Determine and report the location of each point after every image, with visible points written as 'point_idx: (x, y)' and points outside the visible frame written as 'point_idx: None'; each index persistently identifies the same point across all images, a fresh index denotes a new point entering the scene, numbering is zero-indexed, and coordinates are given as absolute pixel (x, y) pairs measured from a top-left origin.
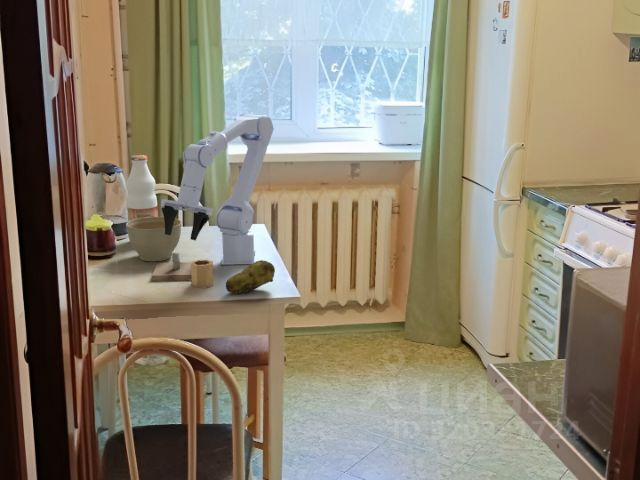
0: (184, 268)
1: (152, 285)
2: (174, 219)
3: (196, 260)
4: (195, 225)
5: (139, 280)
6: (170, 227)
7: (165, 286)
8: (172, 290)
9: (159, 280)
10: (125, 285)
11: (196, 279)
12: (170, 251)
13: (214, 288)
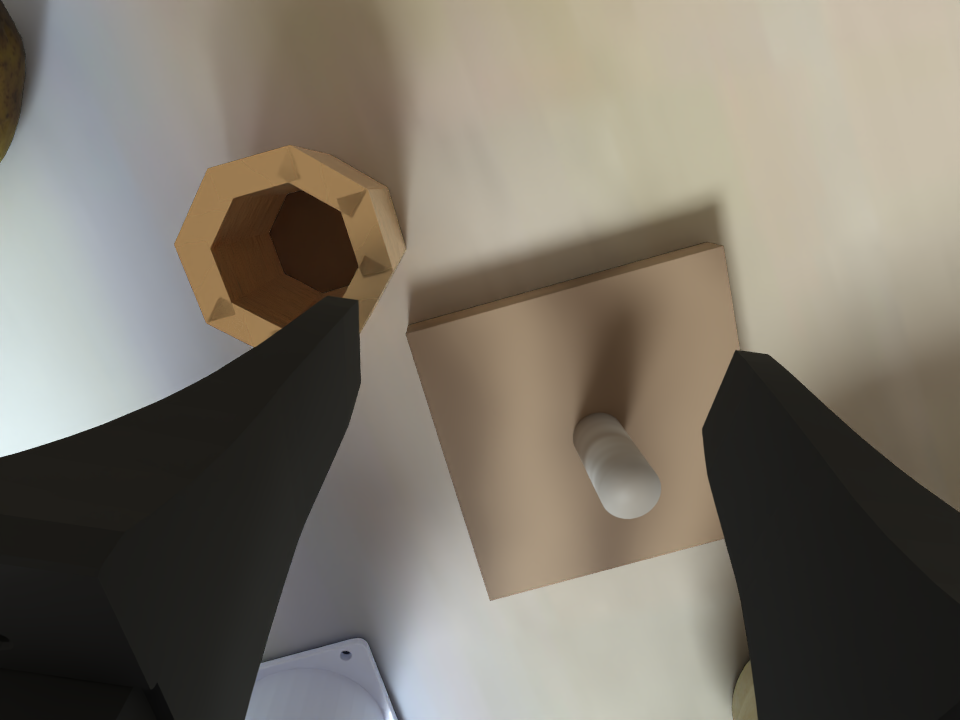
0: (543, 449)
1: (674, 144)
2: (755, 669)
3: (366, 320)
4: (213, 394)
5: (799, 237)
6: (744, 482)
7: (573, 139)
8: (489, 54)
9: (658, 256)
10: (867, 106)
11: (327, 157)
12: (742, 709)
13: (201, 160)
